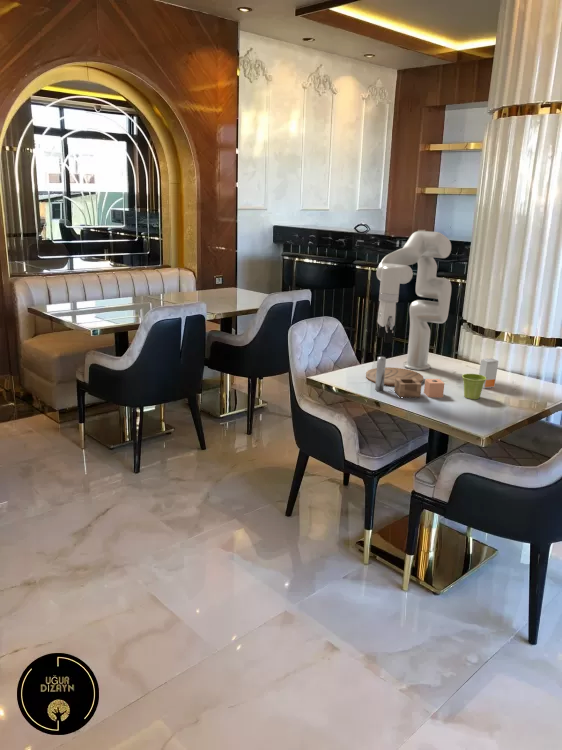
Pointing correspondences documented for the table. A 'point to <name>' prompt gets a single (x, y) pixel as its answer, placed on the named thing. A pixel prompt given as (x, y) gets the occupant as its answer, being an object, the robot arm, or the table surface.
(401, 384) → the wooden box
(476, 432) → the table surface
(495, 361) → the skincare box
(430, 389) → the pink cube with hole
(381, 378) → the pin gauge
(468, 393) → the plant pot
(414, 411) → the table surface
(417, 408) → the table surface
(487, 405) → the table surface
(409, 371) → the trivet
